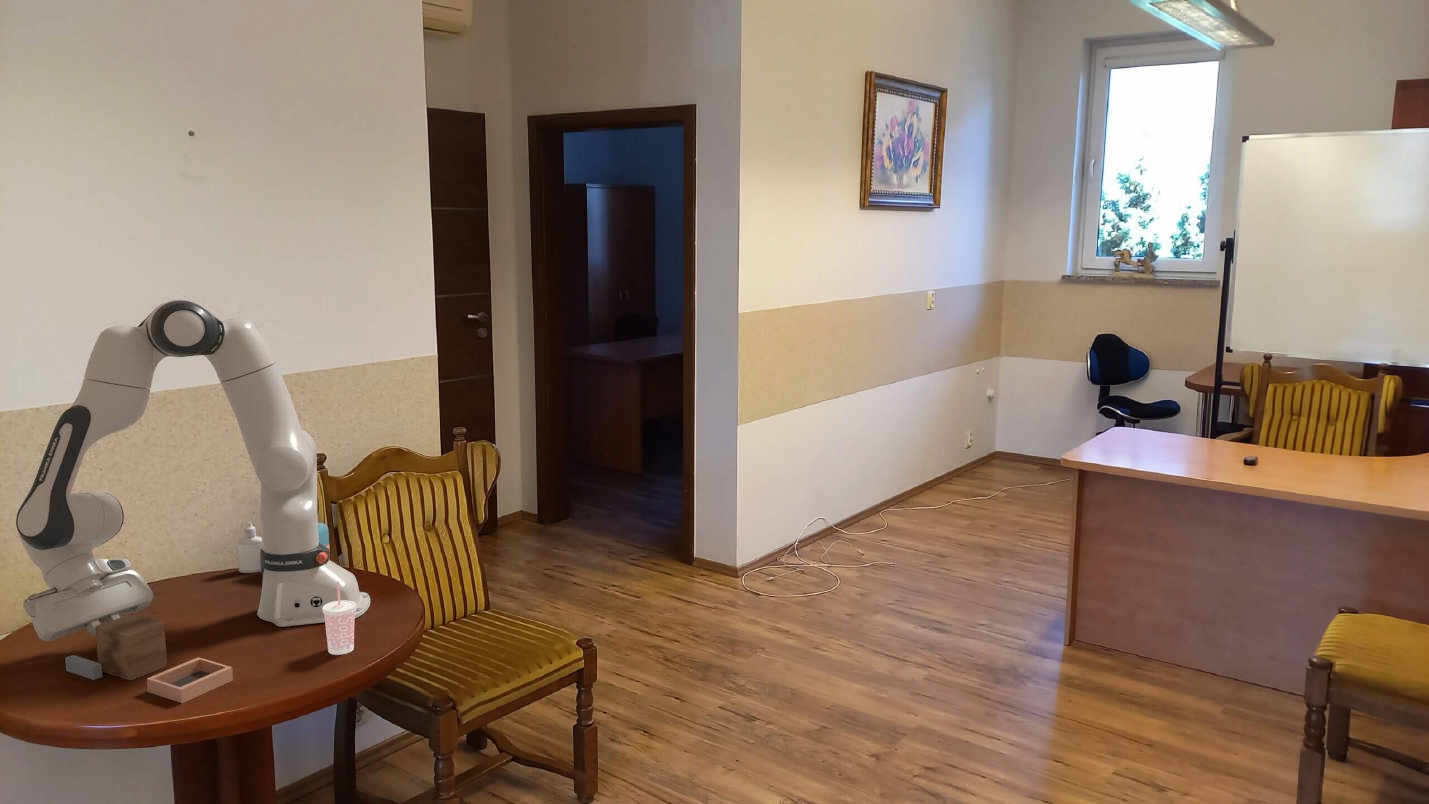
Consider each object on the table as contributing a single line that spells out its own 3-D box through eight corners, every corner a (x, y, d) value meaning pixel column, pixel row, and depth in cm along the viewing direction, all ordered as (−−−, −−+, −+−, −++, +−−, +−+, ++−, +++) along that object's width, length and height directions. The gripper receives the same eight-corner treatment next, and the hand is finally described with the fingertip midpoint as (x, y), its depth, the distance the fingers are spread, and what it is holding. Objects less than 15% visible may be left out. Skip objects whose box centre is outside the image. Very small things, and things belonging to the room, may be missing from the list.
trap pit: (147, 691, 170) (146, 678, 169) (199, 670, 178) (198, 657, 178) (182, 703, 166) (181, 689, 165) (233, 680, 175) (232, 667, 174)
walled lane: (66, 670, 177) (65, 657, 176) (134, 645, 188) (134, 632, 188) (94, 680, 173) (92, 667, 173) (162, 653, 185) (161, 641, 185)
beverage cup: (324, 658, 185) (321, 588, 182) (323, 645, 190) (320, 577, 188) (358, 653, 187) (356, 584, 185) (356, 641, 193) (354, 574, 190)
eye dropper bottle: (257, 574, 229) (254, 525, 227) (235, 572, 230) (232, 524, 228) (268, 568, 233) (266, 520, 231) (247, 566, 234) (244, 518, 232)
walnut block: (99, 670, 177) (95, 626, 176) (135, 656, 184) (132, 613, 182) (130, 680, 174) (127, 636, 172) (167, 666, 180) (164, 622, 178)
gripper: (24, 589, 172) (63, 652, 170) (136, 556, 190) (172, 613, 188) (12, 608, 175) (50, 670, 172) (123, 574, 193) (158, 630, 190)
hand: (114, 640), depth 180 cm, fingers closed
